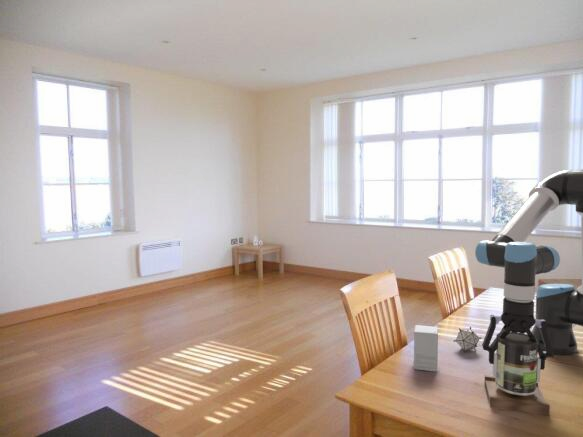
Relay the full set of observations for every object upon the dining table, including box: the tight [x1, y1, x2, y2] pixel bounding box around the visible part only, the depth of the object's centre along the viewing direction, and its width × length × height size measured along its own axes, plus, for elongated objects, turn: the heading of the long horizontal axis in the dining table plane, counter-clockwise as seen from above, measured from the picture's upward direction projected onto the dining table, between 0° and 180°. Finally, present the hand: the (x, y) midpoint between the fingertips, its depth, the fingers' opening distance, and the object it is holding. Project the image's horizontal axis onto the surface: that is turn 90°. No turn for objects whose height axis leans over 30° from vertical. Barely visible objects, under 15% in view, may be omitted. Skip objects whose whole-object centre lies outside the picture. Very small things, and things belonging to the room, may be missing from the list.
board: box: [484, 375, 551, 416], centre depth 121 cm, size 14×14×3 cm
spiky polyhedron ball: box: [453, 326, 482, 353], centre depth 156 cm, size 9×8×10 cm
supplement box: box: [413, 324, 439, 372], centre depth 142 cm, size 7×7×13 cm
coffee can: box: [495, 332, 539, 396], centre depth 120 cm, size 10×10×14 cm
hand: (515, 377), depth 121 cm, fingers closed on coffee can, 10 cm apart
